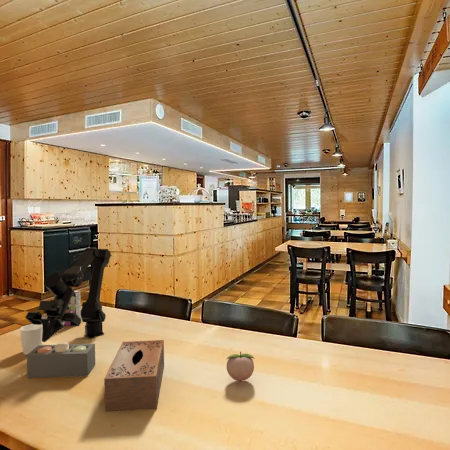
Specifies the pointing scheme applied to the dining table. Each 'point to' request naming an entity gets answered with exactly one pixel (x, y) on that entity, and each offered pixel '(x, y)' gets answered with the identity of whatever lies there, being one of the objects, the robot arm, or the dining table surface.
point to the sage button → (79, 349)
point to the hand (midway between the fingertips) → (43, 341)
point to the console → (61, 362)
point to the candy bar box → (74, 306)
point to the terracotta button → (44, 350)
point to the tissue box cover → (135, 376)
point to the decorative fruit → (240, 366)
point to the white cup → (31, 337)
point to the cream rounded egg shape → (62, 347)
